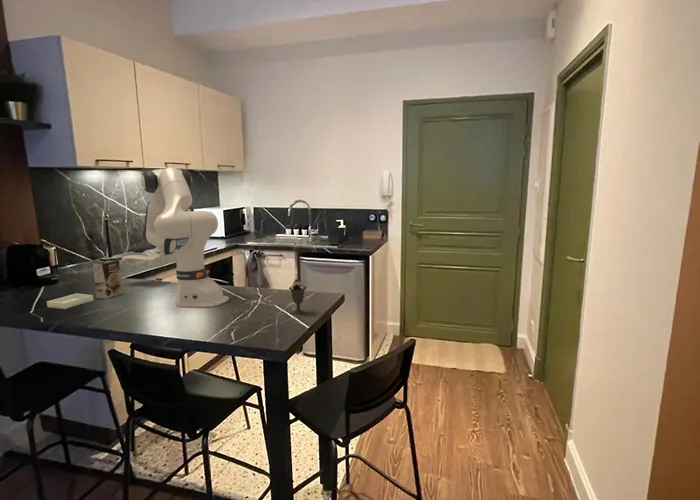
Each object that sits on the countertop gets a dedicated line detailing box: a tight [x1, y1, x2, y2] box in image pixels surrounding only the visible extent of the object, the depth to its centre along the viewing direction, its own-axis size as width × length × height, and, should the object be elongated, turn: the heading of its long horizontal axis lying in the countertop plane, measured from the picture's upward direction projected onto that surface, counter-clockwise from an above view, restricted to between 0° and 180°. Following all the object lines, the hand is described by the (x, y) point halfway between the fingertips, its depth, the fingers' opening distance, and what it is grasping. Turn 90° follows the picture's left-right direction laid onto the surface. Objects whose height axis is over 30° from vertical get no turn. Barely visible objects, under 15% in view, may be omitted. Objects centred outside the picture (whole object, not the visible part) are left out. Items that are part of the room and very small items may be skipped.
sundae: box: [288, 274, 307, 316], centre depth 161 cm, size 7×7×15 cm
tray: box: [46, 293, 94, 310], centre depth 179 cm, size 10×13×2 cm
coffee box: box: [92, 259, 123, 299], centre depth 190 cm, size 9×6×16 cm
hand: (128, 263), depth 201 cm, fingers open, 8 cm apart
